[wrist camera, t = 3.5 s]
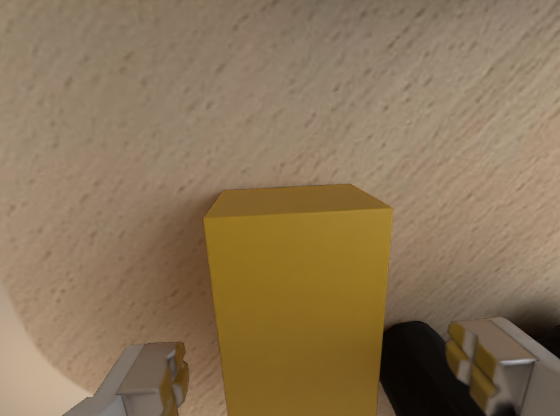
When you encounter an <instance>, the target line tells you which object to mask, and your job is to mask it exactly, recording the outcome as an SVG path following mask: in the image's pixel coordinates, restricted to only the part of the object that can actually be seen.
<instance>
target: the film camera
mask: <svg viewBox="0 0 560 416" xmlns="http://www.w3.org/2000/svg"><path fill="white" fill-rule="evenodd" d="M536 342H538V343H539V344H540V345H542V346H543V347H544V348H545V349H547V350H548V351H549V352H551V353H552V354H553V355H555V356H556V357H557V358H559V359H560V325H558V326H556V327H555V328H553V329H552V330H550V331H549V332H547V333H546V334H544V335H543V336H542V337H541V338H539V339H538V340H536ZM445 344H446V343H445V341H444V340H443V339H442V338H441V337H440V335H439V334H438V333H437V332H436V331H435V330H434V329H432V328H431V327H430V326H429V325H427V324H426V323H423V322H421V321H414V322H407V323H400V324H398V325H397V326H395V327H393V328H391V329H390V330H389V331H388V332H387V333H385V334H384V335H383V339H382V351H381V363H380V376H379V381H380V382H381V384H382V386H383V388H384V391H385V393H386V395H387V397H388V399H389V401H390V403H391V405H392V407H393V409H394V412H395V414H396V416H485V414H484V413H483V412H482V410H481V409H480V408H479V407H478V405H477V404H476V403H475V402H474V400H473V399H472V398H471V396H470V395H469V393H468V386H467V385H465V384H464V383H462V382H461V381H459V380H457V378H456V377H455V376H454V374H453V373H452V372H451V370H450V368H449V366H448V364H447V361H446V357H445Z"/></svg>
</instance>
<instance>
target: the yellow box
mask: <svg viewBox="0 0 560 416" xmlns="http://www.w3.org/2000/svg"><path fill="white" fill-rule="evenodd" d="M392 218H393V208H392V207H390V206H389V205H387V204H385V203H383V202H382V201H380V200H378V199H376V198H375V197H373V196H371V195H369V194H368V193H366V192H364V191H362V190H361V189H359V188H357V187H355V186H354V185H352V184H338V185H318V186H299V187H279V188H259V189H240V190H224V191H223V192H222V193H221V194H220V196H219V197H218V199H217V200H216V201H215V203H214V204H213V206H212V207H211V208H210V210H209V211H208V212H207V214H206V215H205V217H204V218H203V225H204V233H205V241H206V249H207V257H208V265H209V273H210V280H211V288H212V296H213V304H214V312H215V320H216V327H217V335H218V343H219V351H220V359H221V367H222V375H223V382H224V390H225V398H226V406H227V414H228V416H376V412H377V400H378V388H379V376H380V363H381V351H382V339H383V327H384V315H385V303H386V290H387V278H388V266H389V254H390V242H391V230H392Z"/></svg>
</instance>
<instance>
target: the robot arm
mask: <svg viewBox="0 0 560 416" xmlns="http://www.w3.org/2000/svg"><path fill="white" fill-rule="evenodd" d="M447 333H448V334H449V335H450V337H451V339H450V340H449V341H448V342H447V343H446V344H445V357H446V361H447V364H448V366H449V368H450V370H451V372H452V373H453V374H454V376H455V377H456V378H457V380H459V381H461V382H462V383H464V384H465V385H467V386H468V393H469V395H470V396H471V398H472V399H473V400H474V402H475V403H476V404H477V405H478V407H479V408H480V409H481V410H482V412H483V413H484V414H485V416H560V359H559V358H557V357H556V356H555V355H553V354H552V353H551V352H549V351H548V350H547V349H545V348H544V347H543V346H542V345H540V344H539V343H538V342H536V341H535V340H534V339H532V338H531V337H530V336H528V335H527V334H526V333H524V332H523V331H522V330H521V329H519V328H518V327H517V326H515V325H514V324H513V323H511V322H510V321H509V320H507V319H505V318H502V317H494V318H484V319H475V320H463V321H451V323H450V324H449V325H448V331H447ZM185 352H186V351H185V347H184V343H183V342H181V341H180V342H160V343H147V344H130V345H129V346H127V347H126V348H125V349H124V351H123V352H122V354H121V355H120V357H119V358H118V360H117V361H116V363H115V364H114V366H113V367H112V369H111V370H110V372H109V373H108V375H107V376H106V378H105V379H104V381H103V382H102V384H101V385H100V387H99V388H98V390H97V391H96V393H95V394H94V396H93V397H87V398H85V399H84V400H83V401H81V402H80V403H79V404H77V405H76V406H74V407H73V408H72V409H70V410H69V411H68V412H66V413H65V414H64V415H63V416H179V414H178V408H179V407H180V406H181V405H182V404H183V402H184V401H185V398H186V394H187V391H188V384H189V368H188V364H187V363H186V362H185V361H184V360H183V358H184V355H185Z"/></svg>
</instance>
